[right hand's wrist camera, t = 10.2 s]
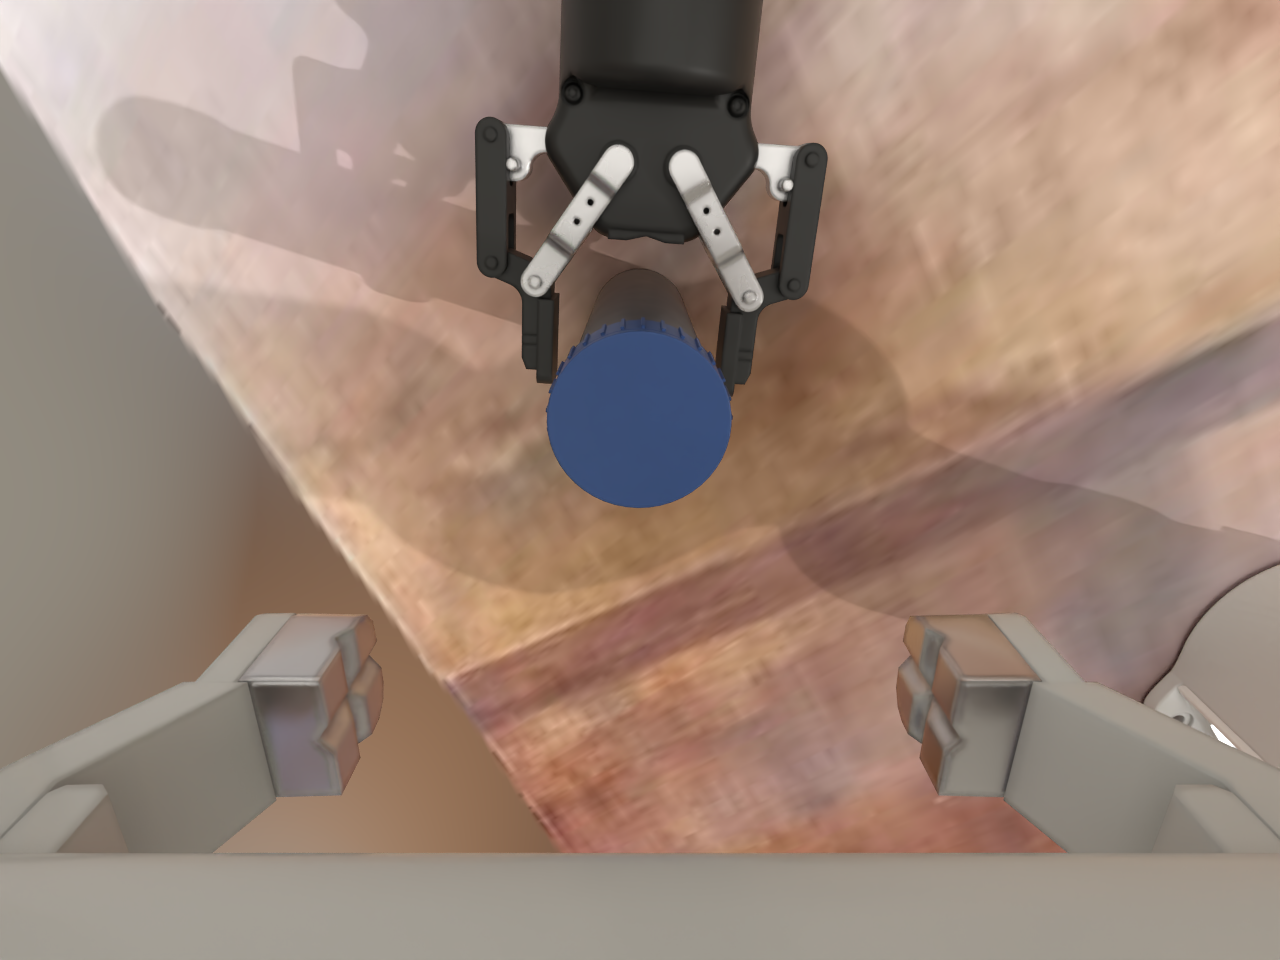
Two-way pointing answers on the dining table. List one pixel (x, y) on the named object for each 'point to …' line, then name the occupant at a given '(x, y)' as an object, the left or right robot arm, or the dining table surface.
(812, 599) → the dining table surface
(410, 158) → the dining table surface
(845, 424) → the dining table surface
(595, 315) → the dark grey bottle
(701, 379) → the lid
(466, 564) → the dining table surface
